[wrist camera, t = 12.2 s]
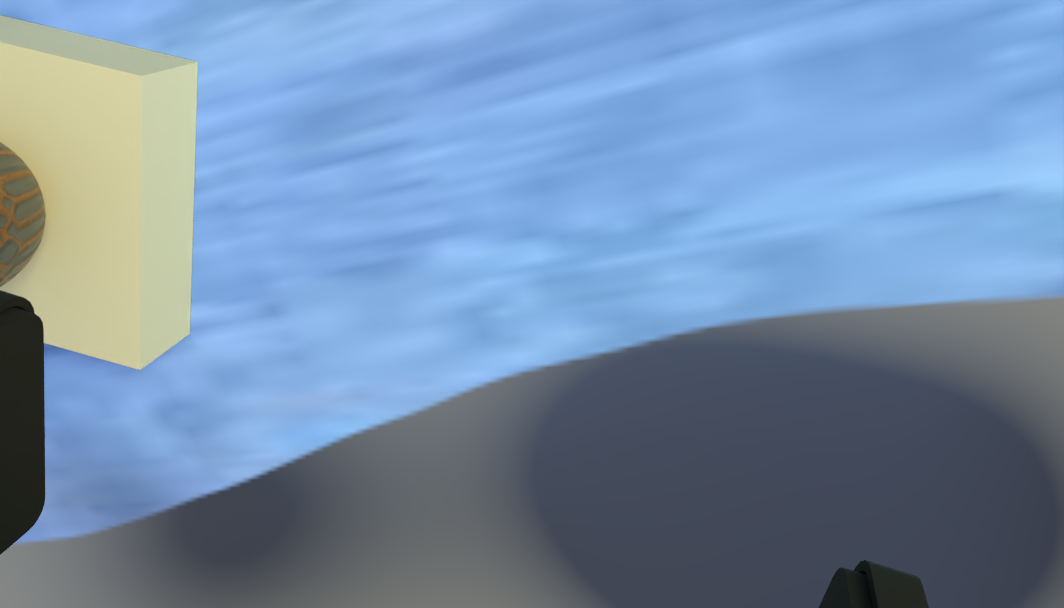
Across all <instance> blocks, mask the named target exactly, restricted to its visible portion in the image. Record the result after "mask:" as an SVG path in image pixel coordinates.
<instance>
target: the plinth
mask: <svg viewBox="0 0 1064 608" xmlns="http://www.w3.org/2000/svg"><path fill="white" fill-rule="evenodd" d="M197 75H198V62H196V61H192V60H188V59H184V58H180V57H175V56H171V55H167V54H163V53H158V52H154V51H150V50H146V49H141V48H137V47H133V46H129V45H124V44H120V43H116V42H112V41H107V40H103V39H99V38H95V37H90V36H86V35H82V34H78V33H73V32H69V31H65V30H61V29H56V28H52V27H48V26H44V25H39V24H35V23H31V22H27V21H22V20H18V19H14V18H10V17H5V16H1V15H0V142H1V143H2V144H4V145H5V146H7V147H8V148H10V149H11V150H12V151H13V152H15V153H16V154H17V155H18V156H19V157H20V158H21V159H22V160H23V161H24V163H25V164H26V165H27V166H28V168H29V169H30V170H31V172H32V173H33V175H34V176H35V178H36V180H37V182H38V184H39V186H40V189H41V192H42V195H43V199H44V204H45V213H46V217H45V227H44V232H43V237H42V240H41V243H40V245H39V247H38V249H37V250H36V252H35V254H34V255H33V257H32V259H31V260H30V261H29V262H28V264H27V265H26V266H25V267H24V268H23V269H22V270H21V271H20V272H19V273H18V274H17V275H16V276H15V277H14V278H13V279H12V280H10V281H9V282H8V283H6V284H5V285H3V286H2V287H0V290H1V291H5V292H8V293H11V294H14V295H17V296H21V297H24V298H26V299H27V300H28V301H30V302H31V304H32V306H33V308H34V313H35V314H36V315H37V316H39V317H40V318H41V320H42V322H43V328H44V343H46V344H50V345H53V346H57V347H60V348H64V349H67V350H71V351H74V352H78V353H82V354H85V355H89V356H92V357H96V358H99V359H103V360H106V361H110V362H113V363H117V364H121V365H124V366H128V367H131V368H135V369H138V370H141V369H142V368H144V367H145V366H146V365H148V364H149V363H151V362H152V361H153V360H155V359H156V358H157V357H159V356H160V355H161V354H163V353H164V352H165V351H167V350H168V349H169V348H171V347H172V346H174V345H175V344H176V343H178V342H179V341H180V340H182V339H183V338H184V337H186V336H187V335H188V334H190V312H191V278H192V244H193V210H194V176H195V143H196V109H197Z"/></svg>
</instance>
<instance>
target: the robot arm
mask: <svg viewBox="0 0 1064 608" xmlns="http://www.w3.org/2000/svg"><path fill="white" fill-rule="evenodd" d="M44 502H45V430H44V328H43V322H42V320H41V318H40V317H39V316H37V315H36V314H35V313H34V308H33V306H32V304H31V302H30V301H28V300H27V299H26V298H24V297H21V296H17V295H14V294H11V293H8V292H5V291H1V290H0V554H2V553H3V552H4V551H5V550H6V549H7V548H9V547H10V546H11V545H12V544H13V543H14V542H16V541H17V540H18V539H19V538H20V537H21V536H23V535H24V534H25V533H26V532H27V531H28V530H29V529H30V528H31V527H32V526H33V525H34V524H35V522H36V521H37V520H38V518H39V516H40V514H41V512H42V509H43V506H44ZM819 608H929V607H928V604H927V600H926V596H925V593H924V589H923V585H922V583H921V581H920V579H919V578H918V577H916V576H914V575H911V574H907V573H904V572H901V571H898V570H894V569H892V568H888V567H885V566H882V565H879V564H876V563H872V562H869V561H866V560H864V561H861V562H860V563H859V564H858V565H857V566H856V568H855V569H854V571H851V570H849V569H845V568H839V569H838V570H837V571H836V573H835V575H834V576H833V578H832V581H831V582H830V585H829V587H828V589H827V591H826V593H825V595H824V598H823V600H822V602H821V604H820V606H819Z"/></svg>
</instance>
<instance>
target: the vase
mask: <svg viewBox="0 0 1064 608" xmlns="http://www.w3.org/2000/svg"><path fill="white" fill-rule="evenodd" d="M45 217H46V213H45V204H44V199H43V195H42V192H41V189H40V186H39V184H38V182H37V180H36V178H35V176H34V175H33V173H32V172H31V170H30V169H29V168H28V166H27V165H26V164H25V163H24V161H23V160H22V159H21V158H20V157H19V156H18V155H17V154H16V153H15V152H13V151H12V150H11V149H10V148H8V147H7V146H5V145H4V144H2V143H1V142H0V287H2V286H3V285H5V284H6V283H8V282H9V281H10V280H12V279H13V278H14V277H15V276H16V275H17V274H18V273H19V272H20V271H21V270H22V269H23V268H24V267H25V266H26V265H27V264H28V262H29V261H30V260H31V259H32V257H33V255H34V254H35V252H36V250H37V249H38V247H39V245H40V243H41V240H42V237H43V232H44V227H45Z"/></svg>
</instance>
